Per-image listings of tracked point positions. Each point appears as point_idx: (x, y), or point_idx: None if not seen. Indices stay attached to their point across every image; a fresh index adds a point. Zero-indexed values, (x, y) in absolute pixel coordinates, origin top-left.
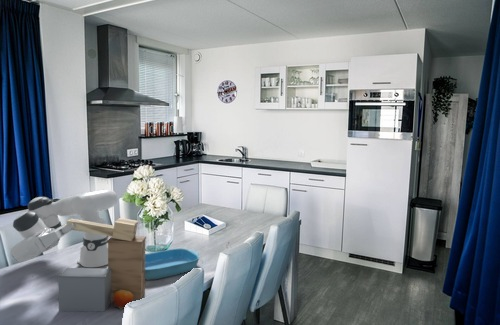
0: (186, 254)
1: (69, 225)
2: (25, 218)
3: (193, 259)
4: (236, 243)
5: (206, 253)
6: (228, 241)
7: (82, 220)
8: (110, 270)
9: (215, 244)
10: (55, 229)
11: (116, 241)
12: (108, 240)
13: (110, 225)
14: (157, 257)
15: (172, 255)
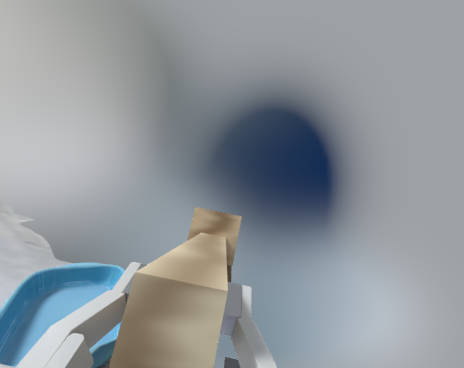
0: (57, 277)
1: (251, 314)
2: None
3: (90, 276)
4: (45, 240)
5: (47, 266)
6: (24, 241)
7: (174, 250)
8: (237, 360)
9: (15, 251)
10: None
11: (230, 270)
12: (227, 279)
13: (201, 234)
14: (9, 319)
15: (26, 295)
